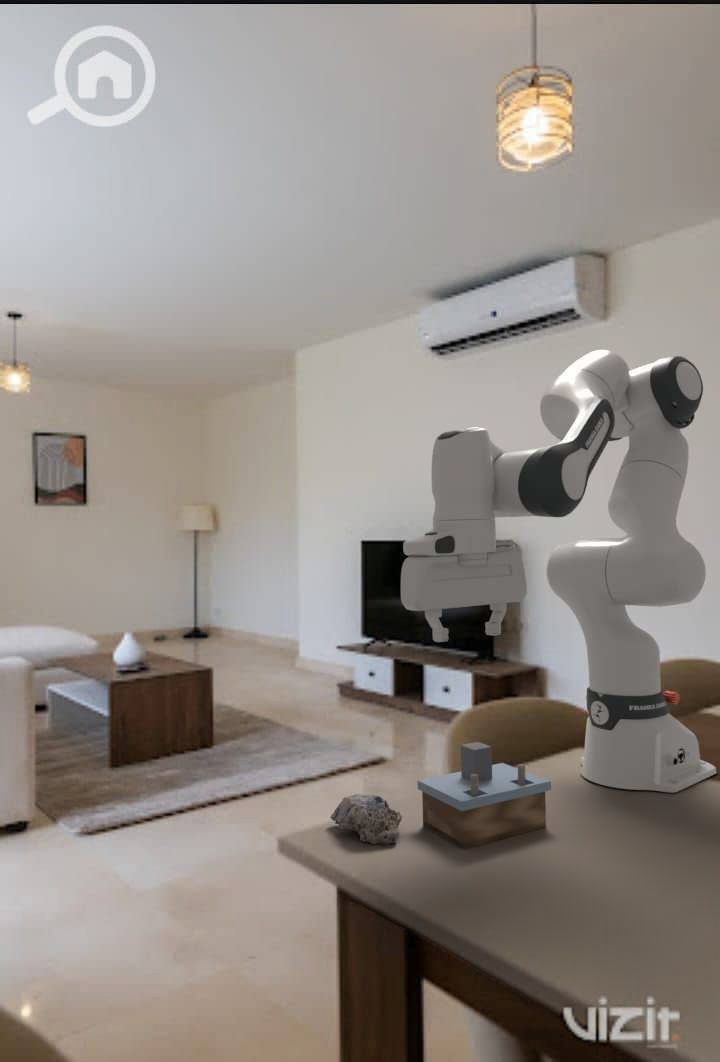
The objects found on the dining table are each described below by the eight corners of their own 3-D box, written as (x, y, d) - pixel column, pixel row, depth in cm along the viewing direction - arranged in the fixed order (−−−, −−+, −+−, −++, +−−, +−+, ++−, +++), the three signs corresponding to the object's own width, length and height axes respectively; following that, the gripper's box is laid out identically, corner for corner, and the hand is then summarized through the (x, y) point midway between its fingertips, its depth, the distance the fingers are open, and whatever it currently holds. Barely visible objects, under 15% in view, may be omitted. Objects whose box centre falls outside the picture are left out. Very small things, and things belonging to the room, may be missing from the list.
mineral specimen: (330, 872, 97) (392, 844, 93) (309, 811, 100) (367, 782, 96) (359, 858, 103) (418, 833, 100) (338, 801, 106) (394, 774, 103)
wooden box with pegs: (502, 807, 109) (501, 748, 109) (546, 826, 101) (544, 763, 101) (423, 826, 102) (421, 764, 102) (462, 849, 94) (461, 781, 94)
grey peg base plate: (502, 771, 110) (501, 732, 110) (550, 790, 101) (549, 748, 101) (417, 789, 102) (416, 748, 102) (461, 811, 93) (460, 766, 94)
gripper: (505, 538, 114) (508, 629, 114) (393, 543, 104) (396, 642, 103) (534, 538, 108) (537, 633, 108) (418, 543, 98) (422, 647, 98)
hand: (467, 638), depth 106 cm, fingers open, 8 cm apart
